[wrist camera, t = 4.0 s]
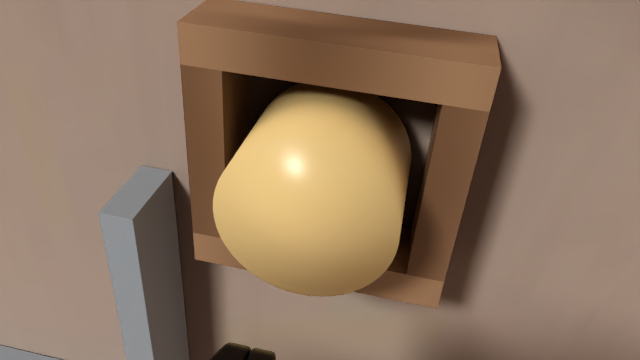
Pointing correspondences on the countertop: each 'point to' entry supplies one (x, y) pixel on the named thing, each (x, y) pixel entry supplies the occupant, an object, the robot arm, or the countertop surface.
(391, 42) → the housing
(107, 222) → the pocket
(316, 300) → the countertop surface
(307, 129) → the pale yellow rounded block
